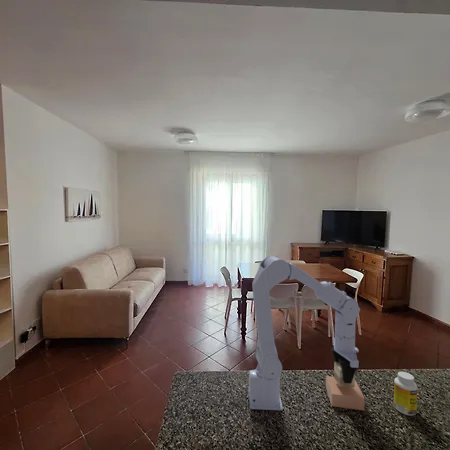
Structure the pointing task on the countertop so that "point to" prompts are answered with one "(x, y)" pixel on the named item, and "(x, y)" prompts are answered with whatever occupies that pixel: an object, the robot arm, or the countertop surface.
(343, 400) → the terracotta box
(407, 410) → the supplement bottle
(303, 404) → the countertop surface
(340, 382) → the metal block
